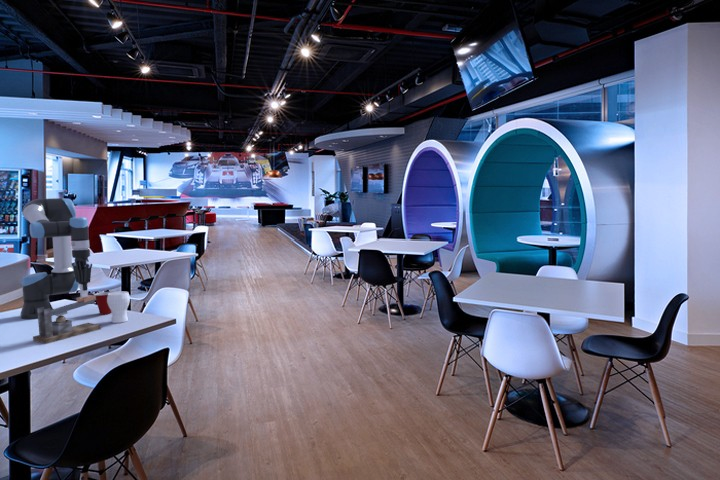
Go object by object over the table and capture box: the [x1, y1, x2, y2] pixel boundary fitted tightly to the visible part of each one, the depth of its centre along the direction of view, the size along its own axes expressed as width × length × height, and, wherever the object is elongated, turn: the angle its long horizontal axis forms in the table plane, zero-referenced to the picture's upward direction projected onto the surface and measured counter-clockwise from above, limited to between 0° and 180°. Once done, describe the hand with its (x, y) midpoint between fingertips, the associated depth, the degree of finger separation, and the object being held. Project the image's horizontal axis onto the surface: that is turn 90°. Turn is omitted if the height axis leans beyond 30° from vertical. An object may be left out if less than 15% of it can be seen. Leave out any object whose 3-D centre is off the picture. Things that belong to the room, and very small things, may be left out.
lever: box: [42, 294, 96, 317], centre depth 226 cm, size 23×6×5 cm, turn 152°
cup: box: [107, 290, 131, 324], centre depth 249 cm, size 11×11×15 cm
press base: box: [32, 307, 102, 345], centre depth 225 cm, size 26×10×15 cm, turn 152°
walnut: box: [55, 315, 67, 323], centre depth 222 cm, size 4×4×4 cm
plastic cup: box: [93, 291, 113, 316], centre depth 265 cm, size 11×11×12 cm
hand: (84, 296), depth 232 cm, fingers closed
